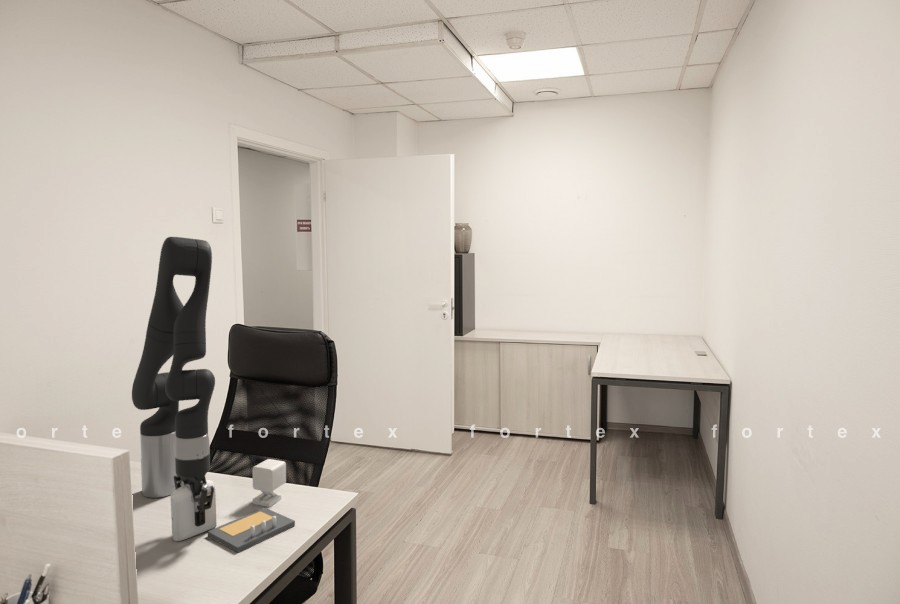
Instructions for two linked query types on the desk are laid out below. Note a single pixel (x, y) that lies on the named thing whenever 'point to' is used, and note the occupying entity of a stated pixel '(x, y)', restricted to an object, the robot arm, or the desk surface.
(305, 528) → the desk surface
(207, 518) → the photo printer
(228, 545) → the charging dock
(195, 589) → the desk surface
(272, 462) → the security camera
